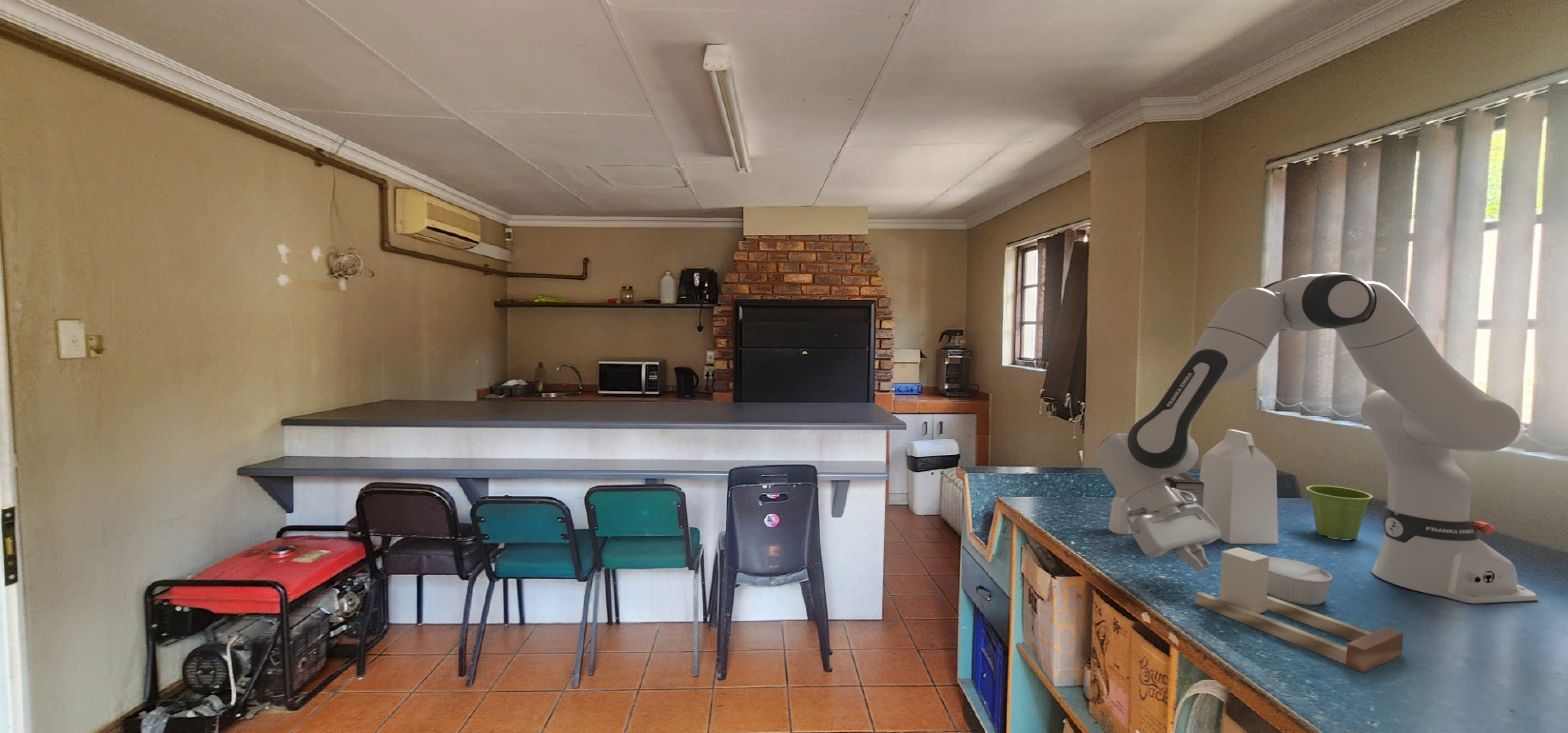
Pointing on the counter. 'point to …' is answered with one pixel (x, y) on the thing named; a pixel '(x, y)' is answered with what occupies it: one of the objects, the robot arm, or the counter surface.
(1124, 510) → the pepper shaker
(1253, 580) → the block
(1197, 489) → the coffee box
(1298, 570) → the ramekin
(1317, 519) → the plant pot
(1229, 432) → the milk
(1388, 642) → the keeper track
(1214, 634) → the counter surface
